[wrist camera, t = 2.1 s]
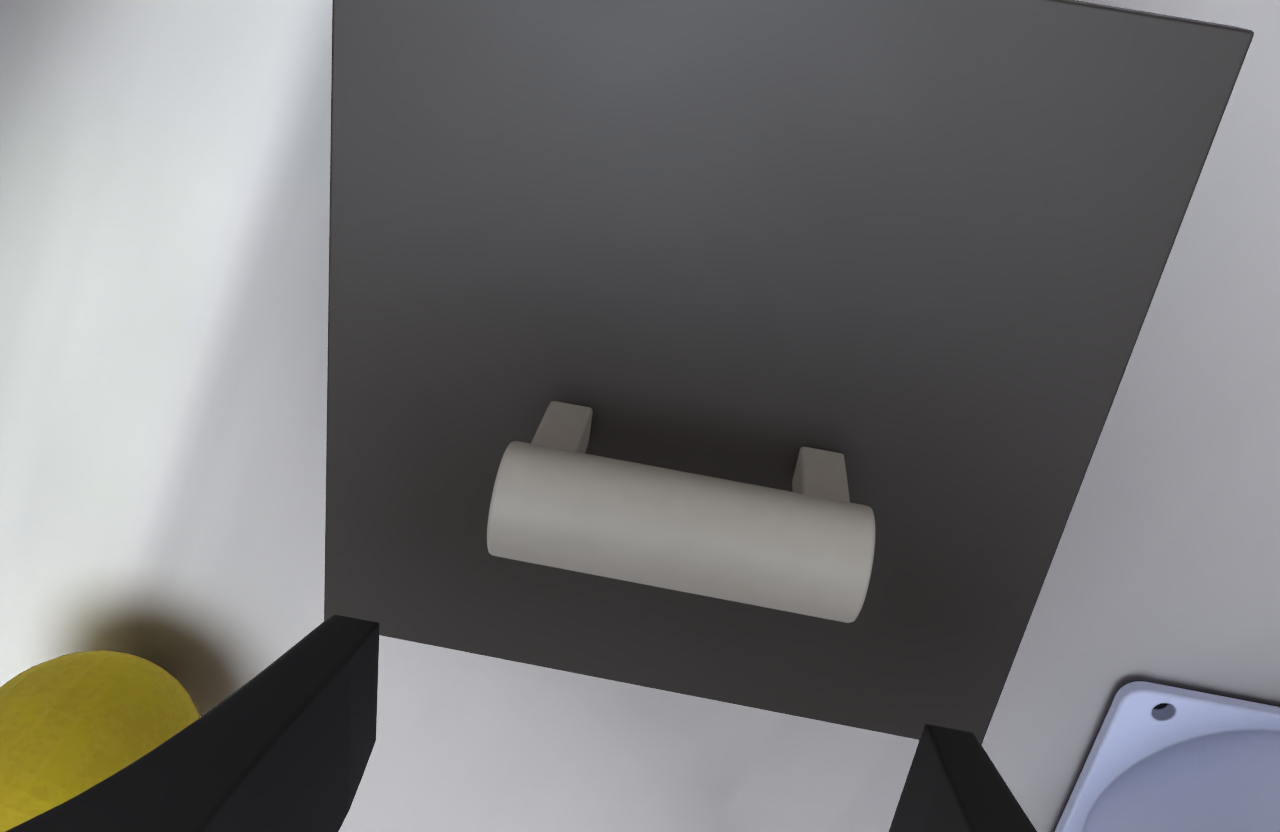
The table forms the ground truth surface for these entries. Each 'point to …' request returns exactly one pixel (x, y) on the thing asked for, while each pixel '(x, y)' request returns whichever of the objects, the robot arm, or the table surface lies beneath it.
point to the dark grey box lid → (741, 327)
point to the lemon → (81, 726)
